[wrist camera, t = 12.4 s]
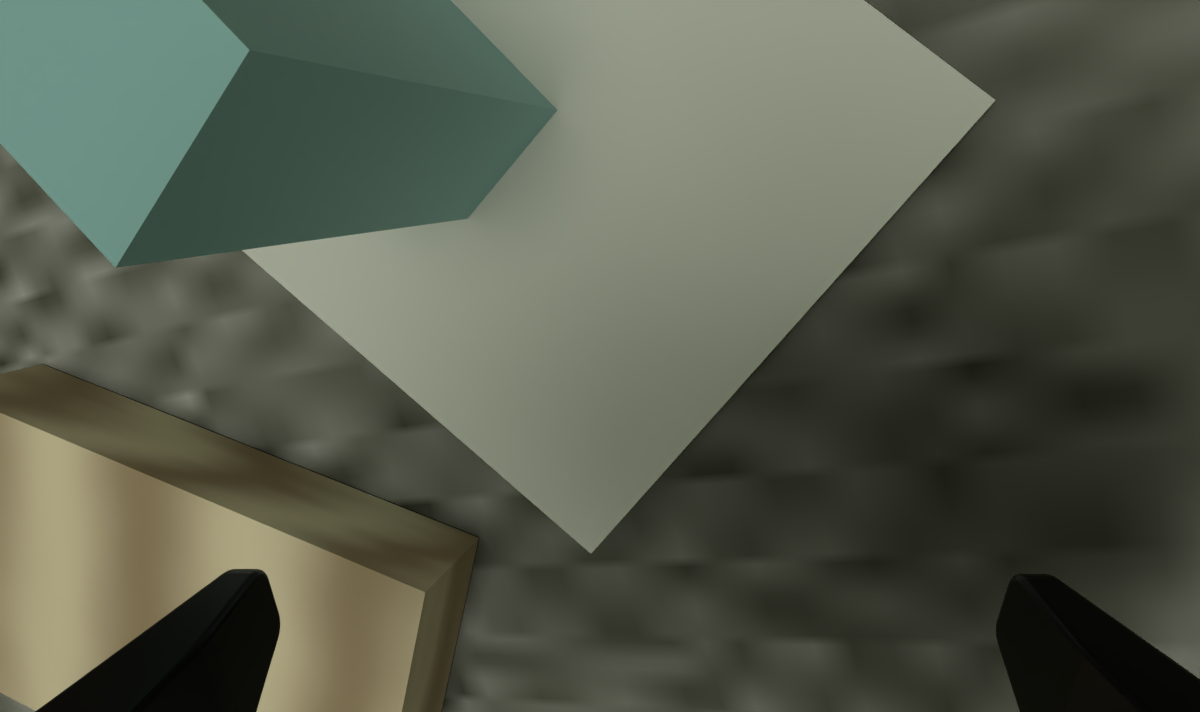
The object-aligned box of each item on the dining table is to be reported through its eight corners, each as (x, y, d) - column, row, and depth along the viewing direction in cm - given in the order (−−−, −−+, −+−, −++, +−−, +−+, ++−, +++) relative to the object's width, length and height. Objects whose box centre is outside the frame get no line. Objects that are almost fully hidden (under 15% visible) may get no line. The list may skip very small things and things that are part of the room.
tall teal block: (557, 109, 18) (249, 49, 9) (467, 219, 19) (115, 267, 10) (411, -41, 18) (-43, -256, 9) (331, 76, 19) (-138, -6, 10)
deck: (479, 537, 22) (425, 592, 19) (421, 805, 25) (367, 885, 22) (42, 363, 25) (-58, 388, 23) (37, 616, 28) (-51, 665, 26)
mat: (992, 101, 16) (995, 100, 15) (595, 547, 21) (590, 554, 20) (274, -445, 17) (262, -458, 17) (69, 90, 22) (56, 89, 22)
